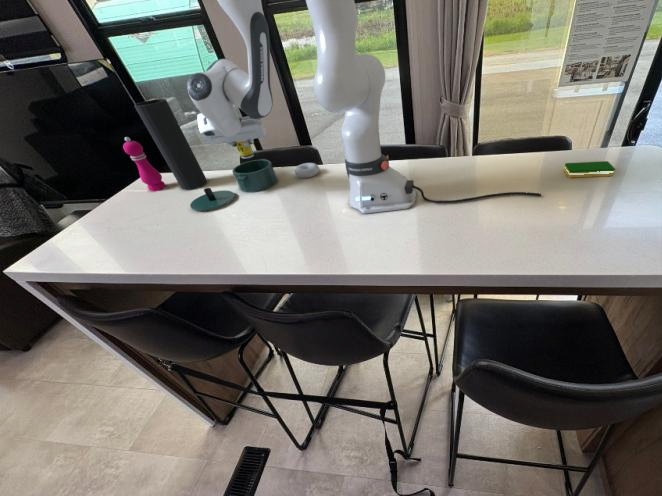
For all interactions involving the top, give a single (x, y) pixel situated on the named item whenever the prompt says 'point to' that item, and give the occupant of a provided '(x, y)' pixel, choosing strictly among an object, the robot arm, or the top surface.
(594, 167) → the dish sponge
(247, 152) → the supplement bottle
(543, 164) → the top surface
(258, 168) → the pot
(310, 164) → the donut
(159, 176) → the pepper mill
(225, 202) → the lid
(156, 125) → the vase
